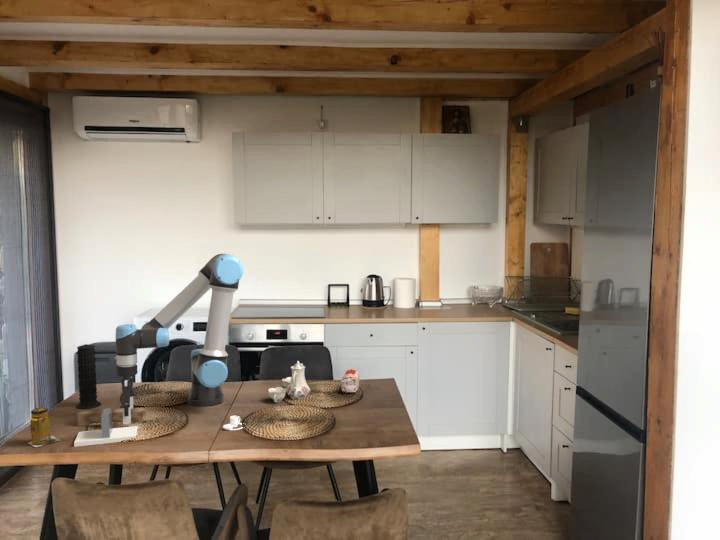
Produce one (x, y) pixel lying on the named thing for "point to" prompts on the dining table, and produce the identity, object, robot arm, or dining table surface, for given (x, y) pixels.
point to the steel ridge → (106, 423)
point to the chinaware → (291, 385)
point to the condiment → (40, 428)
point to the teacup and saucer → (233, 423)
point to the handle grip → (87, 377)
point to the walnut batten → (117, 416)
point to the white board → (96, 438)
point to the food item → (350, 381)
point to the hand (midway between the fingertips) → (128, 418)
